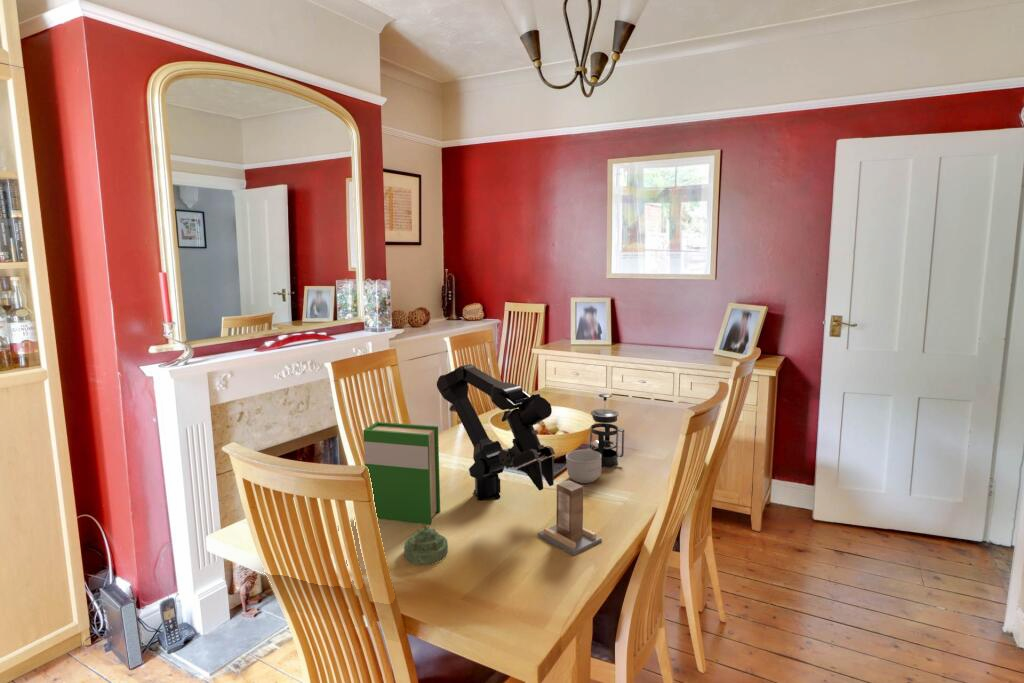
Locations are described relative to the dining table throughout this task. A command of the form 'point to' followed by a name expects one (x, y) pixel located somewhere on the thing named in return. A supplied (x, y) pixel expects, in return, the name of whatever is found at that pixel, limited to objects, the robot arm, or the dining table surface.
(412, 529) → the dining table surface
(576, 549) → the grey stand base
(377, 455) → the hardback book
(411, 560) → the decorative artifact
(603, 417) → the french press
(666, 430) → the dining table surface
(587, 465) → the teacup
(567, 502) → the wooden block
